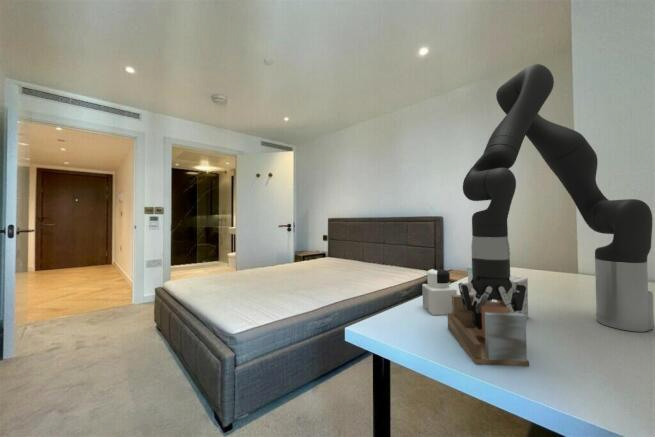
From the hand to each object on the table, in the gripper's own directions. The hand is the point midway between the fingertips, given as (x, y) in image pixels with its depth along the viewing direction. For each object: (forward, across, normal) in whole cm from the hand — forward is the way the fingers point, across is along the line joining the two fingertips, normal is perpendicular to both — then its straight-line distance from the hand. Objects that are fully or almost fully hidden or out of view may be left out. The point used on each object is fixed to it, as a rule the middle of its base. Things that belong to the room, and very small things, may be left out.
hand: (492, 327), depth 60 cm
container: (+4, +6, -22) cm, 23 cm away
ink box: (+4, -13, -17) cm, 22 cm away
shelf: (+4, +2, 0) cm, 4 cm away
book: (+2, 0, 0) cm, 2 cm away
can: (+4, -10, -31) cm, 33 cm away
